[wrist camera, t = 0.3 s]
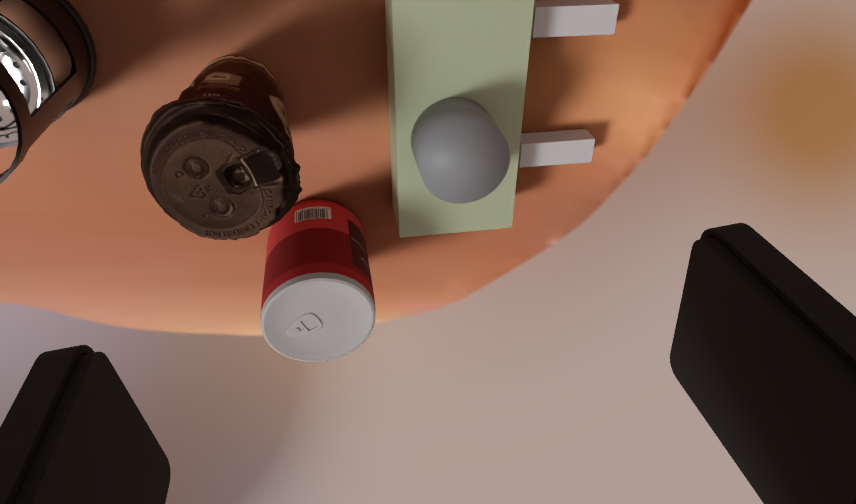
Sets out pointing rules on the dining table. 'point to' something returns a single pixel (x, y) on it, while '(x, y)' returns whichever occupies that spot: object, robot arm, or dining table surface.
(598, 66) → the dining table surface
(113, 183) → the dining table surface
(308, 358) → the canned food
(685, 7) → the dining table surface
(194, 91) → the coffee cup
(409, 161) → the green plate with pegs
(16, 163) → the french press
